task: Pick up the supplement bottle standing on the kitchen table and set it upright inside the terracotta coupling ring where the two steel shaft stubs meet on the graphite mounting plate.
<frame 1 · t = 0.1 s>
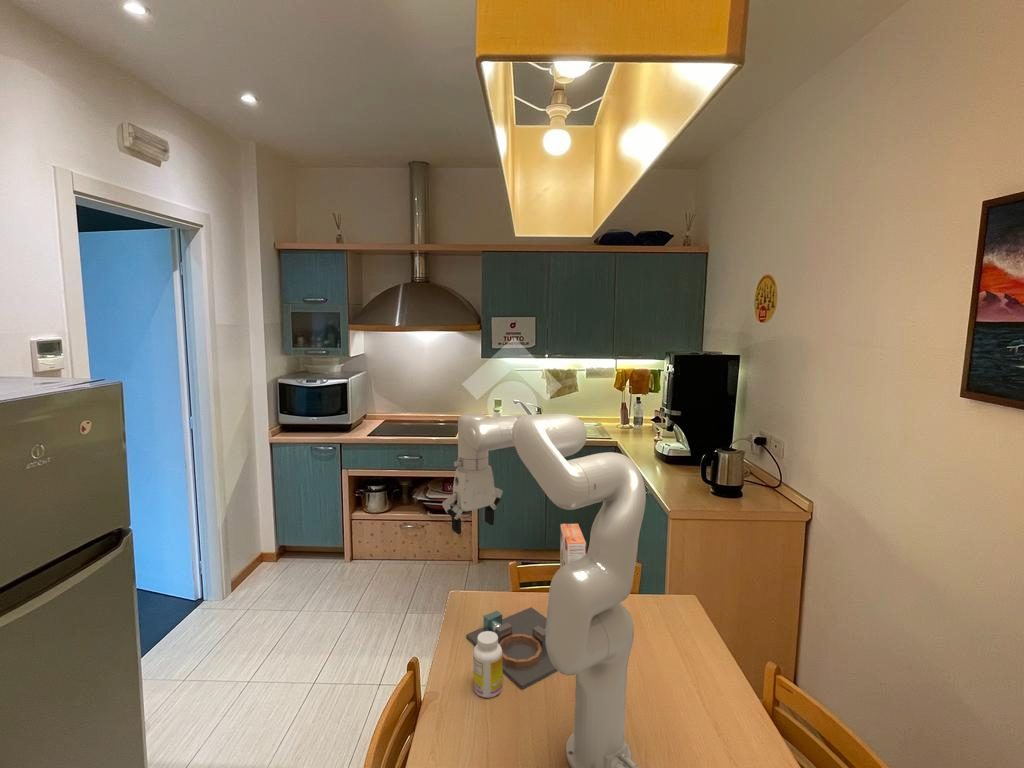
hand: (473, 527, 134), 31 cm above the table, fingers open, 9 cm apart
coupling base: (519, 655, 133), on the table
supplement bottle: (487, 689, 121), on the table
cracker box: (571, 598, 159), on the table
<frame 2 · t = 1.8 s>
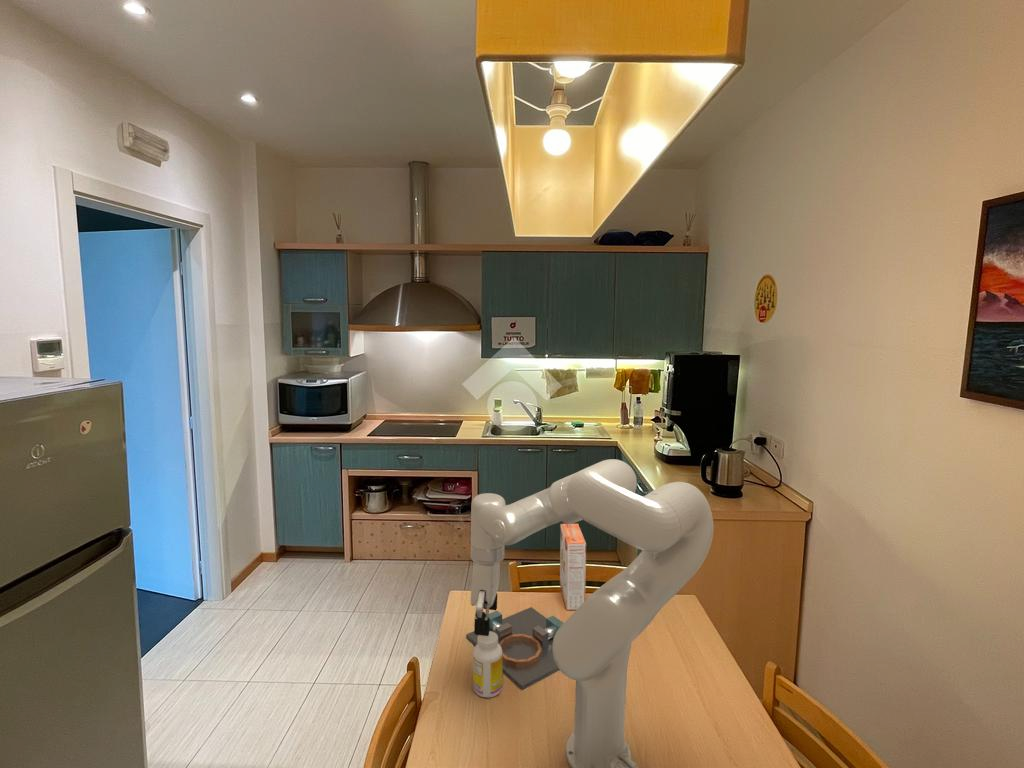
hand: (486, 621, 119), 16 cm above the table, fingers open, 9 cm apart
nothing on the table moved.
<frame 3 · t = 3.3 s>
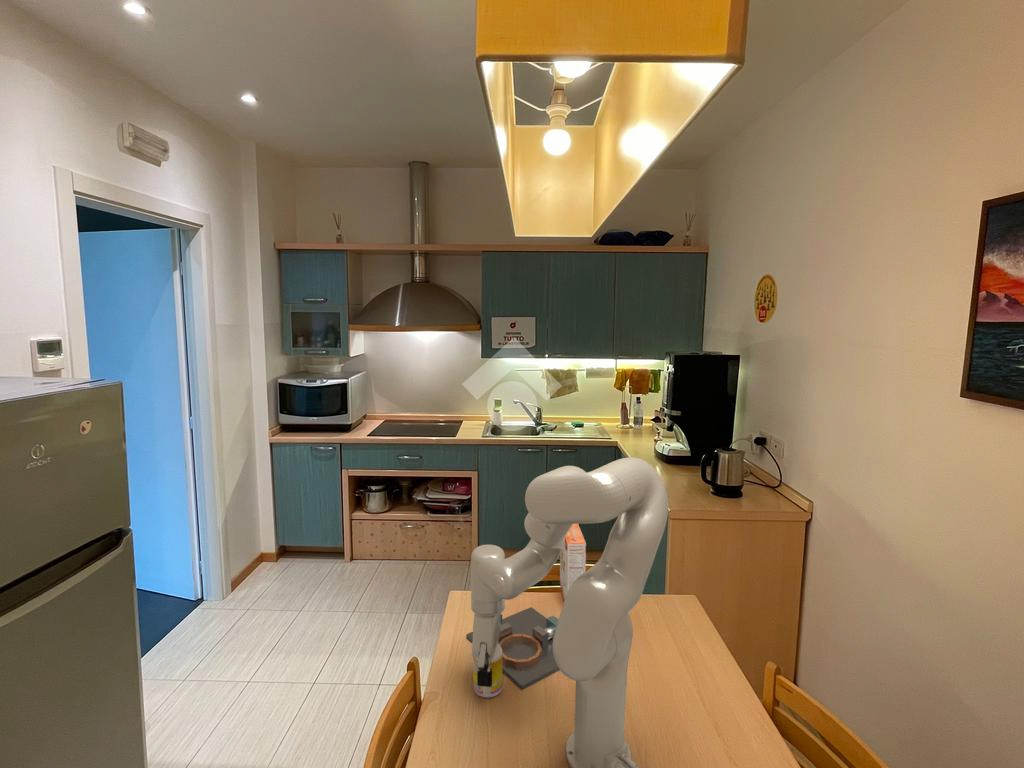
hand: (487, 673, 120), 4 cm above the table, fingers closed on supplement bottle, 6 cm apart
supplement bottle: (487, 689, 121), on the table, touching gripper
everything else where it was.
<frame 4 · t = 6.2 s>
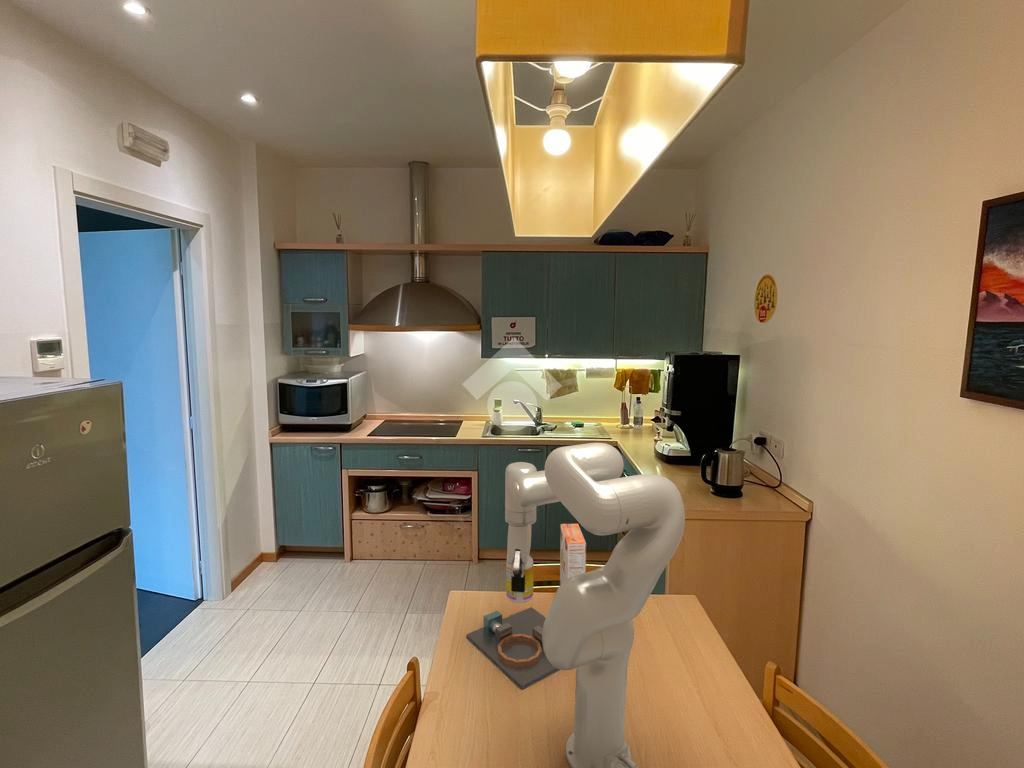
hand: (520, 582, 130), 20 cm above the table, fingers closed on supplement bottle, 6 cm apart
supplement bottle: (519, 597, 130), point 16 cm above the table, touching gripper
everything else where it was.
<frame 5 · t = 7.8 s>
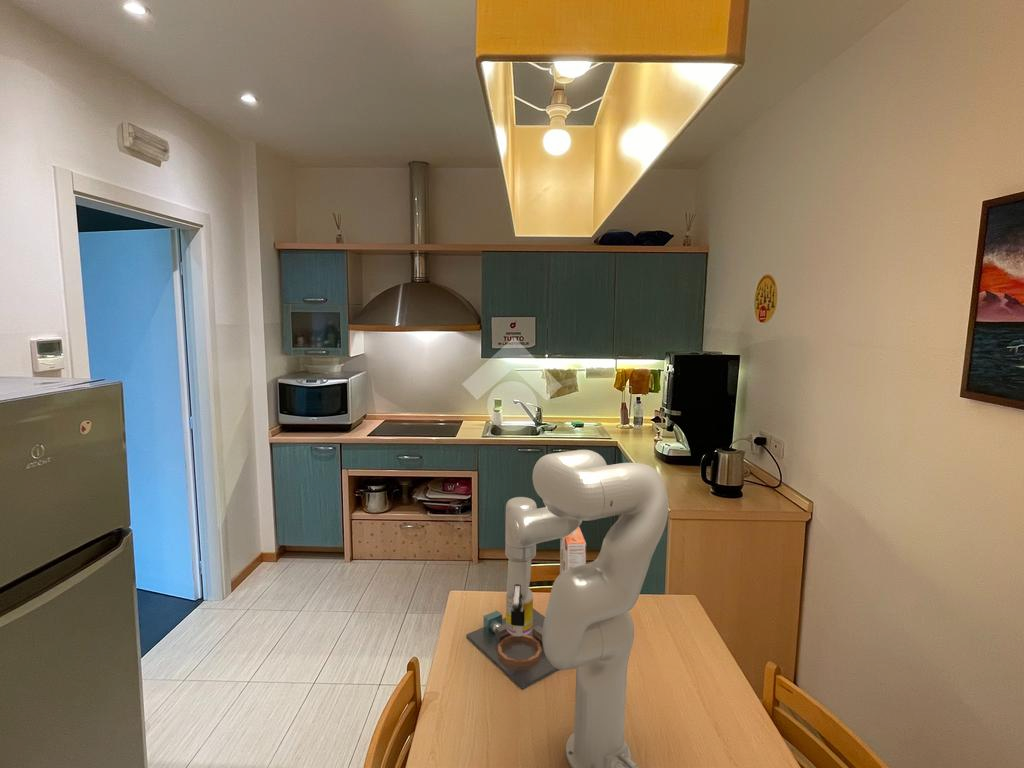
hand: (519, 615, 131), 11 cm above the table, fingers closed on supplement bottle, 6 cm apart
supplement bottle: (519, 630, 132), point 7 cm above the table, touching gripper
everything else where it was.
when the fingers open (7 cm above the table, at t = 9.1 s): supplement bottle drops 2 cm, resting on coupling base.
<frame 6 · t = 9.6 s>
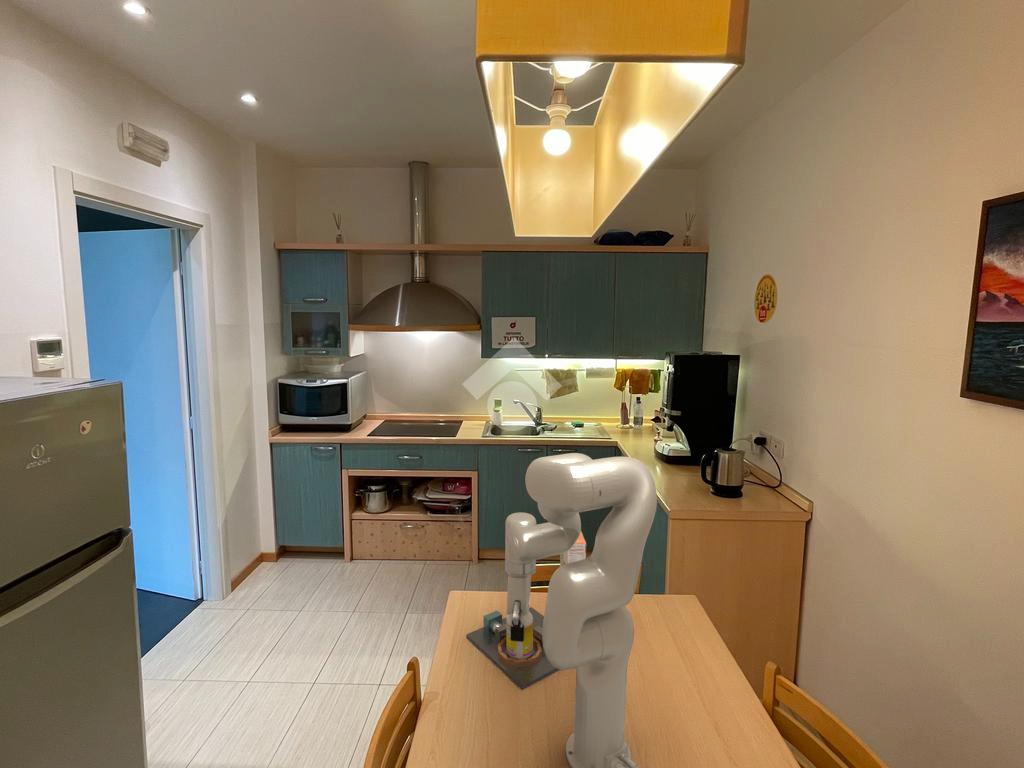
hand: (519, 628, 131), 7 cm above the table, fingers open, 9 cm apart
supplement bottle: (519, 653, 132), point 1 cm above the table, touching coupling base
everything else where it was.
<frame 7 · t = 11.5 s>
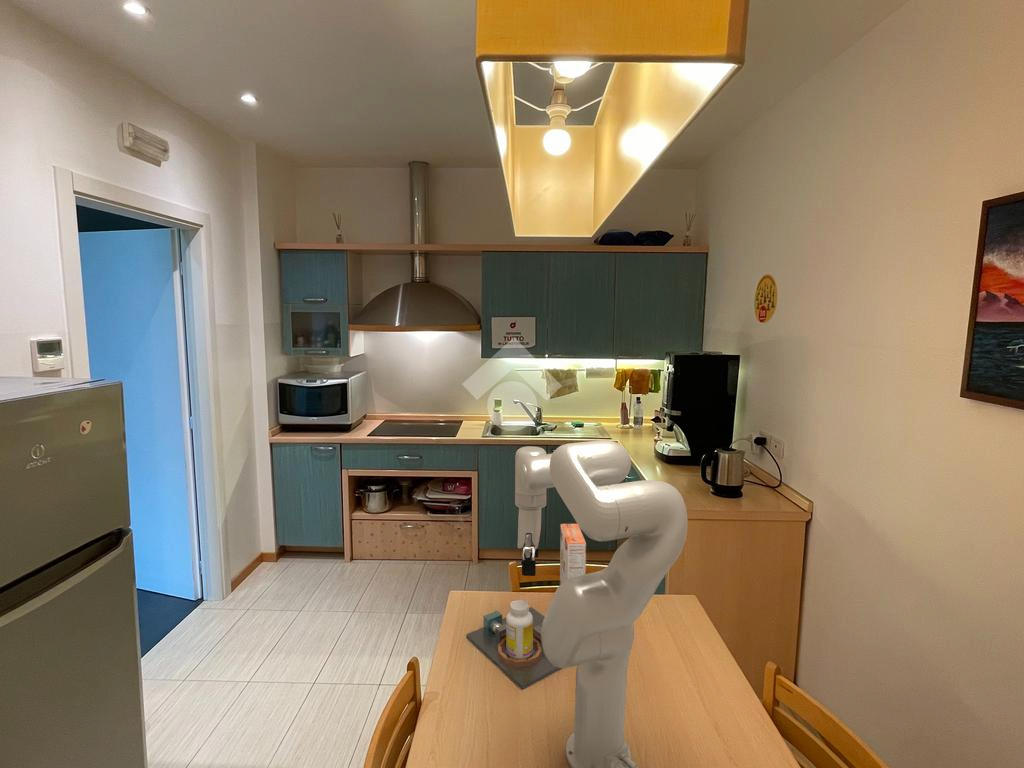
hand: (530, 565, 129), 24 cm above the table, fingers open, 9 cm apart
nothing on the table moved.
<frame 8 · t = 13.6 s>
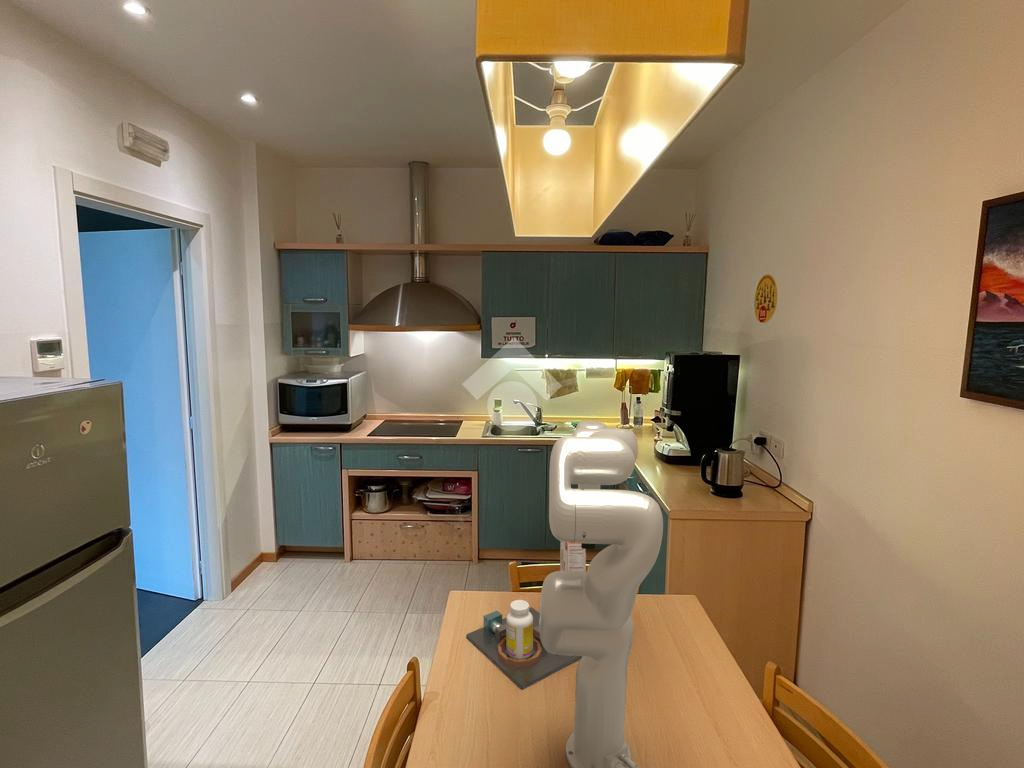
hand: (588, 539, 129), 30 cm above the table, fingers open, 9 cm apart
nothing on the table moved.
at the end: supplement bottle 0.3 cm from the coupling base (horizontally); supplement bottle tilted 0°; the gripper is holding nothing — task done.
